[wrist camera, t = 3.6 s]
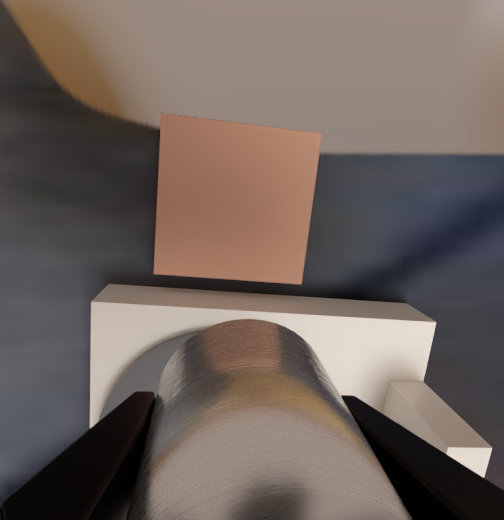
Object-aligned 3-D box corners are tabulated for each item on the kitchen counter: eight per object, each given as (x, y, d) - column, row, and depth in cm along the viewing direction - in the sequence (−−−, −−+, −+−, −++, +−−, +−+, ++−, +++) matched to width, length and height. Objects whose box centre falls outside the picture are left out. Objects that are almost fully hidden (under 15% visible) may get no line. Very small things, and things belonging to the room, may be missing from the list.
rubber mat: (297, 279, 21) (301, 284, 20) (156, 269, 20) (153, 274, 19) (316, 135, 19) (322, 133, 18) (163, 116, 18) (161, 113, 17)
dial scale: (367, 495, 25) (443, 648, 17) (104, 497, 22) (44, 675, 14) (406, 303, 22) (520, 375, 14) (109, 283, 20) (36, 356, 12)
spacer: (313, 467, 9) (407, 734, 5) (154, 469, 9) (97, 768, 4) (337, 323, 8) (479, 490, 4) (160, 314, 8) (96, 496, 3)
